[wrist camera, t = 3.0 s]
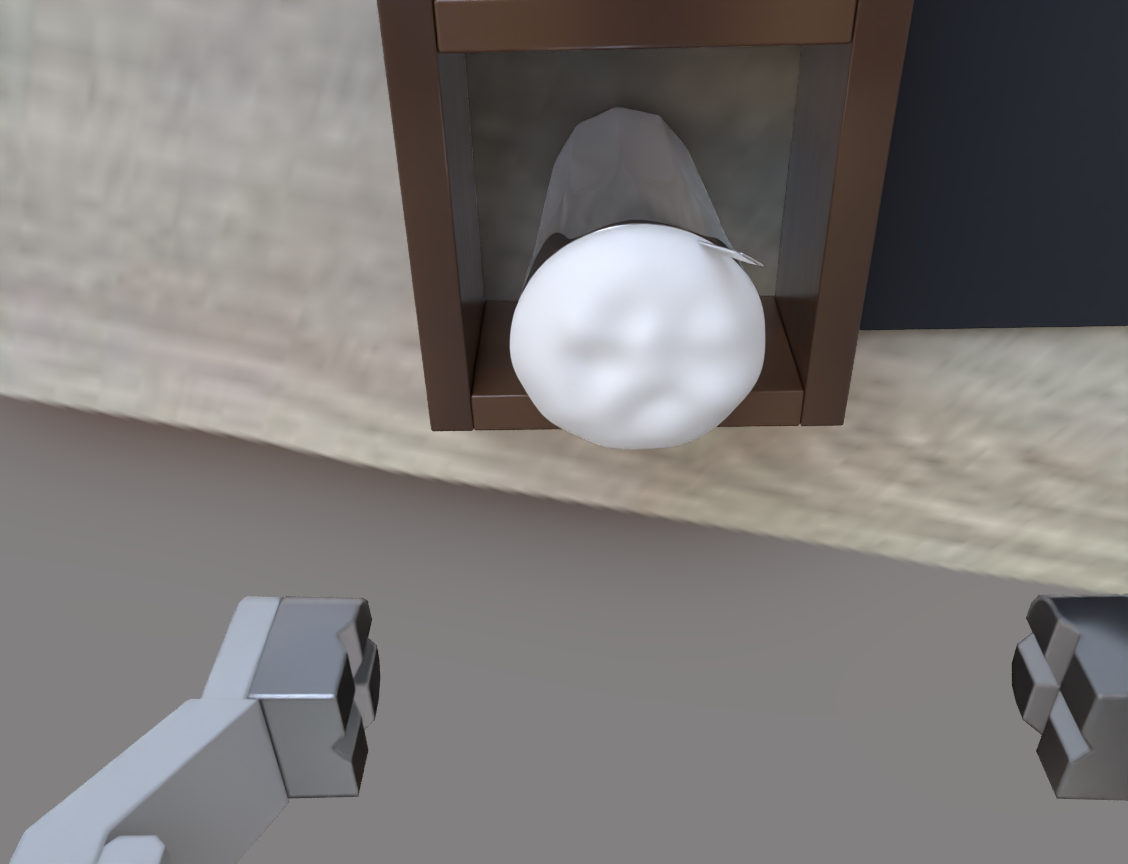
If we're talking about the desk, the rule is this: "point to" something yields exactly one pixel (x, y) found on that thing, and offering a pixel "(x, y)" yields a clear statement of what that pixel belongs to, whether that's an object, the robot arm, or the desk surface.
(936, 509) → the desk surface
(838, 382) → the caddy
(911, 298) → the mouse pad
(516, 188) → the desk surface
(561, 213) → the milkshake
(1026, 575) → the desk surface
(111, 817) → the robot arm
